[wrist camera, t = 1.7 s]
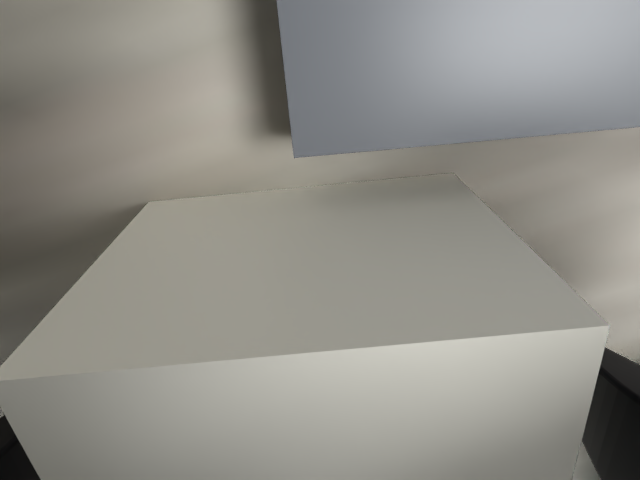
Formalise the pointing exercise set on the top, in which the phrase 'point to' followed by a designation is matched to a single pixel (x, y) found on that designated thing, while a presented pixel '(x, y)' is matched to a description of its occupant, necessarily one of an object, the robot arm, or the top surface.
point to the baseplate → (456, 70)
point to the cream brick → (311, 345)
